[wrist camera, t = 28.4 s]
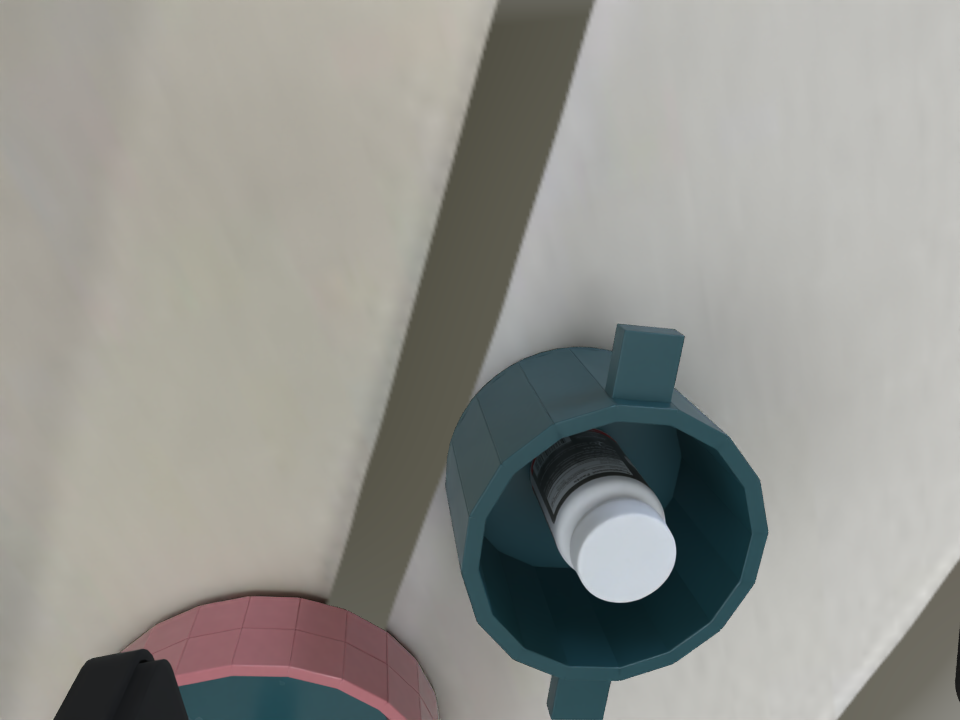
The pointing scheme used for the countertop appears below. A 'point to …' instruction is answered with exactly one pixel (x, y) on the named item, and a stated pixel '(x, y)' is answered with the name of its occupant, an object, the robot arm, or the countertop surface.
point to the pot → (530, 545)
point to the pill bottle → (603, 517)
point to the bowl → (293, 651)
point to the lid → (271, 700)
